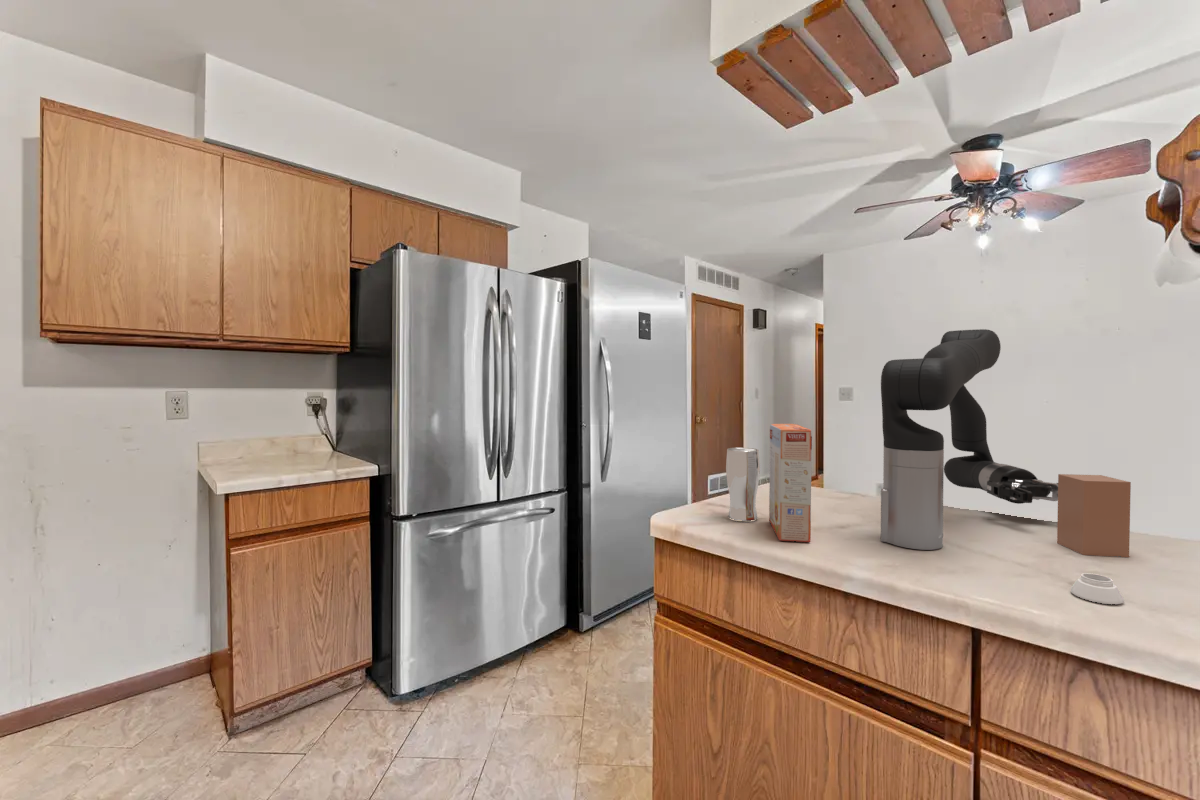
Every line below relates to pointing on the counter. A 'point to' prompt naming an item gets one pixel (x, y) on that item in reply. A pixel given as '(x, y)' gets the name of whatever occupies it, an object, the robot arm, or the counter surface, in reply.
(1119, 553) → the brown rectangular block
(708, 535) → the counter surface
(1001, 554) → the counter surface
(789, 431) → the cracker box
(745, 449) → the beer glass
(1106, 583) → the lidless jar
